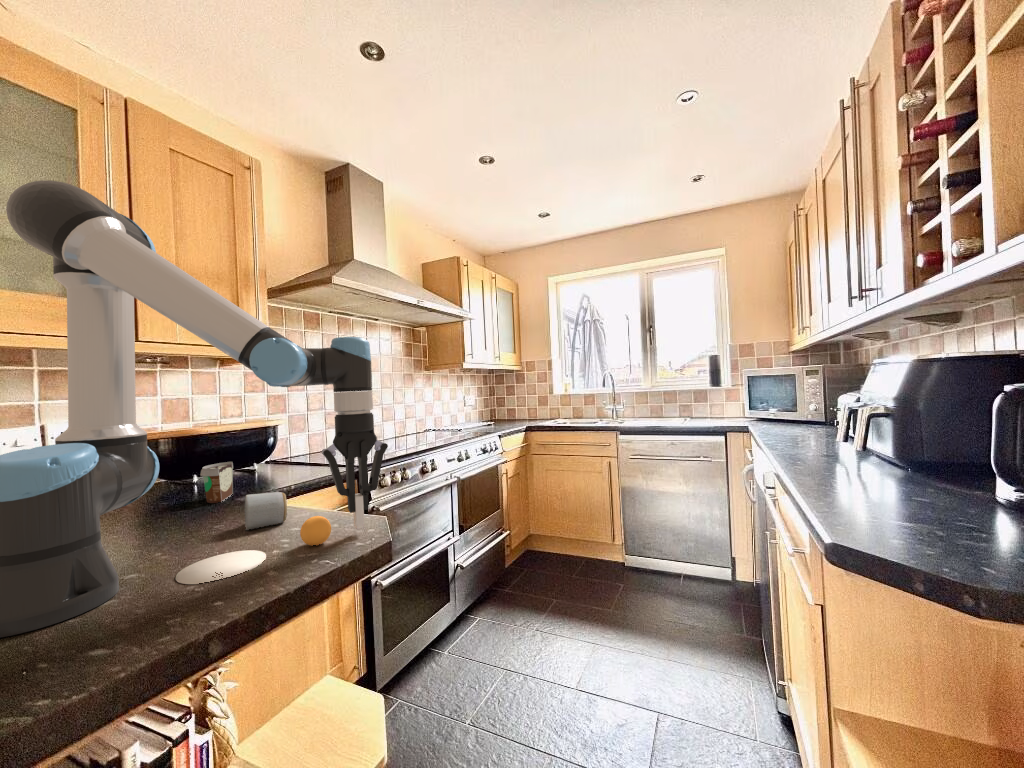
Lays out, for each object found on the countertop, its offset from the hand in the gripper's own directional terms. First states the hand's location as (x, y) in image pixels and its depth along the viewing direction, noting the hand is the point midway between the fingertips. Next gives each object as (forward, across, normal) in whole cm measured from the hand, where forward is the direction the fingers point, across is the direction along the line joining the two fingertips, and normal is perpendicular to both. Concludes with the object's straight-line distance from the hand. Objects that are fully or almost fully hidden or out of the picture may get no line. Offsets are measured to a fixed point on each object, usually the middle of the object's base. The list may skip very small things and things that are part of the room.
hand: (359, 526), depth 85 cm
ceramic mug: (+2, +16, -23) cm, 28 cm away
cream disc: (+2, +23, 0) cm, 23 cm away
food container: (+2, +27, -61) cm, 67 cm away
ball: (-1, +8, 0) cm, 8 cm away
